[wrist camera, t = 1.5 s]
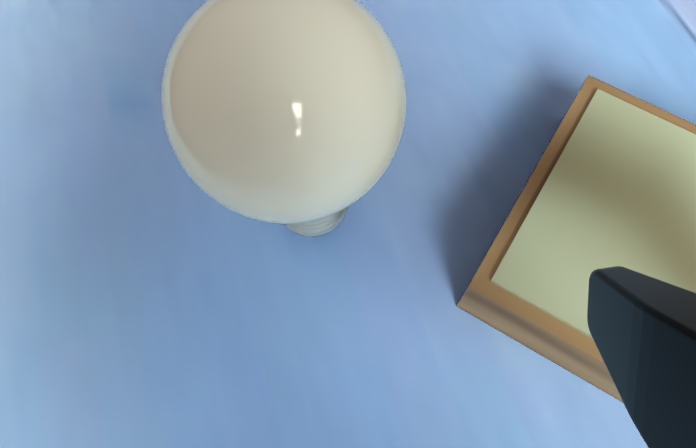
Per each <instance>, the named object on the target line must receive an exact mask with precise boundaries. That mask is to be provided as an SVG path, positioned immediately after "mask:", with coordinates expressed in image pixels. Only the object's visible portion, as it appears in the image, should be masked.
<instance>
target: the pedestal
mask: <svg viewBox="0 0 696 448" xmlns="http://www.w3.org/2000/svg"><path fill="white" fill-rule="evenodd" d="M614 266H622V267H625V268H628V269H631V270H633V271H636V272H639V273H642V274H645V275H647V276H650V277H653V278H656V279H658V280H661V281H664V282H667V283H670V284H672V285H675V286H678V287H681V288H683V289H686V290H689V291H692V292H695V293H696V125H695V124H693V123H691V122H688V121H686V120H684V119H682V118H680V117H678V116H676V115H673V114H671V113H669V112H667V111H665V110H663V109H660V108H658V107H656V106H654V105H652V104H650V103H648V102H645V101H643V100H641V99H639V98H637V97H635V96H632V95H630V94H628V93H626V92H624V91H622V90H620V89H617V88H615V87H613V86H611V85H609V84H607V83H604V82H602V81H600V80H598V79H596V78H594V77H592V76H589V75H588V77H587V79H586V80H585V82H584V84H583V85H582V87H581V89H580V90H579V92H578V94H577V95H576V97H575V99H574V101H573V102H572V104H571V106H570V107H569V109H568V111H567V112H566V114H565V116H564V117H563V119H562V121H561V123H560V125H559V126H558V128H557V130H556V132H555V133H554V135H553V137H552V139H551V140H550V142H549V144H548V146H547V147H546V149H545V151H544V153H543V155H542V156H541V158H540V160H539V162H538V163H537V165H536V167H535V169H534V170H533V172H532V174H531V176H530V177H529V179H528V181H527V183H526V184H525V186H524V188H523V190H522V192H521V193H520V195H519V197H518V199H517V200H516V202H515V204H514V206H513V207H512V209H511V211H510V213H509V214H508V216H507V218H506V220H505V221H504V223H503V225H502V227H501V229H500V230H499V232H498V234H497V236H496V237H495V239H494V241H493V243H492V244H491V246H490V248H489V250H488V251H487V253H486V255H485V257H484V258H483V260H482V262H481V264H480V266H479V267H478V269H477V271H476V273H475V274H474V276H473V278H472V280H471V281H470V283H469V285H468V287H467V288H466V290H465V292H464V294H463V295H462V297H461V299H460V301H459V303H458V304H457V307H459V308H461V309H463V310H464V311H466V312H468V313H469V314H471V315H473V316H475V317H476V318H478V319H480V320H482V321H483V322H485V323H487V324H488V325H490V326H492V327H494V328H495V329H497V330H499V331H501V332H502V333H504V334H506V335H507V336H509V337H511V338H513V339H514V340H516V341H518V342H520V343H521V344H523V345H525V346H526V347H528V348H530V349H532V350H533V351H535V352H537V353H539V354H540V355H542V356H544V357H545V358H547V359H549V360H551V361H552V362H554V363H556V364H558V365H559V366H561V367H563V368H564V369H566V370H568V371H570V372H571V373H573V374H575V375H577V376H578V377H580V378H582V379H583V380H585V381H587V382H589V383H590V384H592V385H594V386H596V387H597V388H599V389H601V390H602V391H604V392H606V393H608V394H609V395H611V396H613V397H615V398H616V399H618V400H620V401H621V402H623V401H622V399H621V397H620V394H619V392H618V390H617V388H616V386H615V384H614V382H613V380H612V378H611V376H610V373H609V371H608V369H607V367H606V365H605V363H604V361H603V359H602V357H601V355H600V352H599V350H598V348H597V346H596V344H595V342H594V340H593V338H592V336H591V333H590V331H589V327H588V322H587V308H588V288H589V277H590V274H591V273H592V272H593V271H594V270H596V269H601V268H608V267H614Z"/></svg>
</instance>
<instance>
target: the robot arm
mask: <svg viewBox="0 0 696 448" xmlns="http://www.w3.org/2000/svg"><path fill="white" fill-rule="evenodd" d="M587 322H588V327H589V331H590V333H591V336H592V338H593V340H594V342H595V344H596V346H597V348H598V350H599V352H600V355H601V357H602V359H603V361H604V363H605V365H606V367H607V369H608V371H609V373H610V376H611V378H612V380H613V382H614V384H615V386H616V388H617V390H618V392H619V394H620V397H621V399H622V401H623V403H624V405H625V407H626V409H627V411H628V413H629V415H630V417H631V419H632V421H633V422H634V424H635V426H636V427H637V429H638V431H639V433H640V434H641V436H642V438H643V439H644V441H645V442H646V444H647V446H648V447H649V448H696V293H695V292H692V291H689V290H686V289H683V288H681V287H678V286H675V285H672V284H670V283H667V282H664V281H661V280H658V279H656V278H653V277H650V276H647V275H645V274H642V273H639V272H636V271H633V270H631V269H628V268H625V267H622V266H614V267H608V268H601V269H596V270H594V271H593V272H592V273H591V274H590V277H589V288H588V308H587Z"/></svg>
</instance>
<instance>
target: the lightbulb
mask: <svg viewBox="0 0 696 448" xmlns="http://www.w3.org/2000/svg"><path fill="white" fill-rule="evenodd" d="M406 102H407V101H406V85H405V79H404V74H403V70H402V66H401V63H400V60H399V57H398V54H397V52H396V50H395V48H394V45H393V43H392V42H391V40H390V38H389V36H388V35H387V33H386V31H385V30H384V28H383V27H382V26H381V24H380V23H379V22H378V21H377V19H376V18H375V17H374V16H373V15H372V14H371V13H370V12H369V11H368V10H367V9H366V8H365V7H364V6H363V5H362V4H361V3H359V2H358V1H357V0H207V1H206V2H204V3H203V4H202V5H201V6H200V7H199V8H198V9H197V10H196V11H195V12H194V13H193V14H192V15H191V16H190V18H189V19H188V20H187V21H186V23H185V24H184V25H183V27H182V28H181V30H180V31H179V33H178V35H177V37H176V39H175V41H174V42H173V45H172V47H171V49H170V52H169V54H168V57H167V61H166V64H165V68H164V73H163V79H162V88H161V105H162V115H163V120H164V125H165V129H166V133H167V136H168V139H169V142H170V144H171V146H172V149H173V151H174V153H175V155H176V157H177V159H178V160H179V162H180V164H181V165H182V167H183V168H184V170H185V171H186V173H187V174H188V175H189V176H190V178H191V179H192V180H193V181H194V182H195V183H196V184H197V185H198V186H199V187H200V188H201V189H202V190H203V191H204V192H205V193H206V194H207V195H209V196H210V197H211V198H212V199H214V200H215V201H216V202H218V203H219V204H221V205H223V206H224V207H226V208H228V209H230V210H232V211H234V212H236V213H238V214H240V215H243V216H246V217H249V218H252V219H255V220H260V221H264V222H271V223H283V224H285V225H286V226H287V227H288V228H289V229H290V230H291V231H293V232H295V233H297V234H300V235H303V236H319V235H323V234H326V233H328V232H330V231H331V230H333V229H334V228H336V227H337V226H338V225H339V224H340V222H341V221H342V220H343V218H344V216H345V214H346V211H347V207H348V206H350V205H351V204H353V203H354V202H356V201H357V200H358V199H360V198H361V197H362V196H363V195H365V194H366V193H367V192H368V191H369V190H370V189H371V188H372V187H373V186H374V185H375V184H376V183H377V181H378V180H379V179H380V178H381V176H382V175H383V174H384V172H385V171H386V169H387V168H388V166H389V164H390V163H391V161H392V159H393V157H394V155H395V153H396V151H397V148H398V145H399V143H400V140H401V137H402V133H403V129H404V124H405V117H406Z"/></svg>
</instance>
